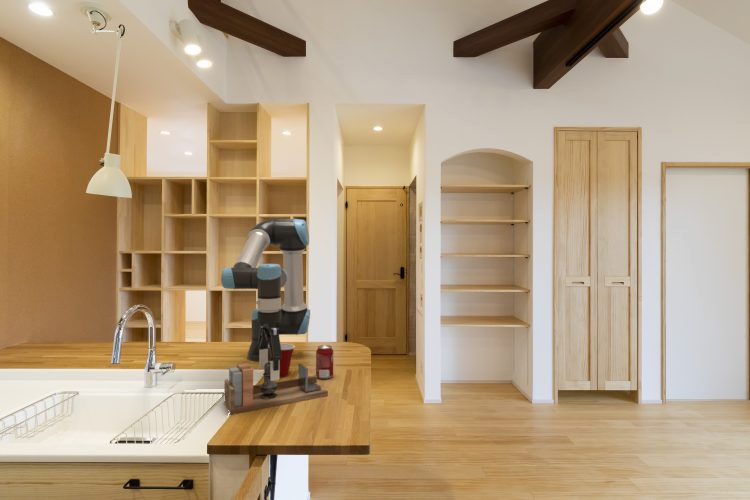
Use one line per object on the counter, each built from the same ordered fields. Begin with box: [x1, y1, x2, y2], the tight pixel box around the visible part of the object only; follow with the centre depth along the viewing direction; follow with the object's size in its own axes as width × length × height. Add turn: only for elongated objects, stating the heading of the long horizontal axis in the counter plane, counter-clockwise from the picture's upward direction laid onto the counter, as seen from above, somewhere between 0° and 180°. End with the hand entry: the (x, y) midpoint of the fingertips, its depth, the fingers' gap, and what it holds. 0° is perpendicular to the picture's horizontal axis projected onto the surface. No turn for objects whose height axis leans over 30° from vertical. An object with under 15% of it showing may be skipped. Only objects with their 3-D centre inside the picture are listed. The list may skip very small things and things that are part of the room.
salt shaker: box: [259, 360, 278, 399], centre depth 132 cm, size 6×6×12 cm
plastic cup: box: [268, 342, 296, 378], centre depth 159 cm, size 11×11×12 cm
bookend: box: [297, 363, 321, 392], centre depth 140 cm, size 7×6×8 cm
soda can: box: [315, 344, 334, 380], centre depth 157 cm, size 7×7×12 cm
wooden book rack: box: [223, 361, 329, 415], centre depth 134 cm, size 11×32×12 cm, turn 121°
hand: (269, 373), depth 133 cm, fingers open, 13 cm apart
